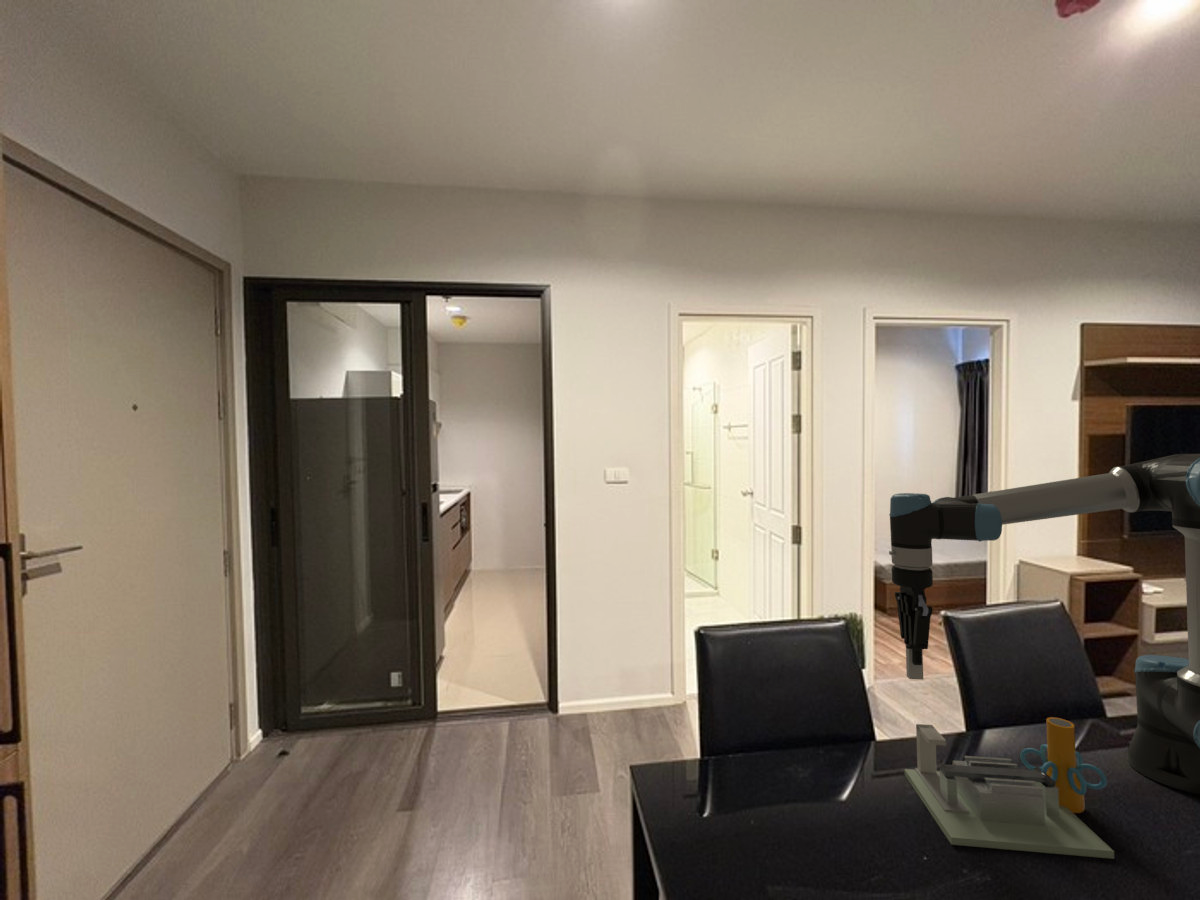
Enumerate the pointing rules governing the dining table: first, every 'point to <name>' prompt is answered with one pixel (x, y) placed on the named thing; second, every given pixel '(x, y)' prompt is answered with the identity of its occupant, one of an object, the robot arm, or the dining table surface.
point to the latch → (927, 747)
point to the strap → (996, 773)
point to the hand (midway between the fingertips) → (914, 677)
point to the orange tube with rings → (1064, 764)
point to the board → (1006, 825)
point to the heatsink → (1001, 794)
